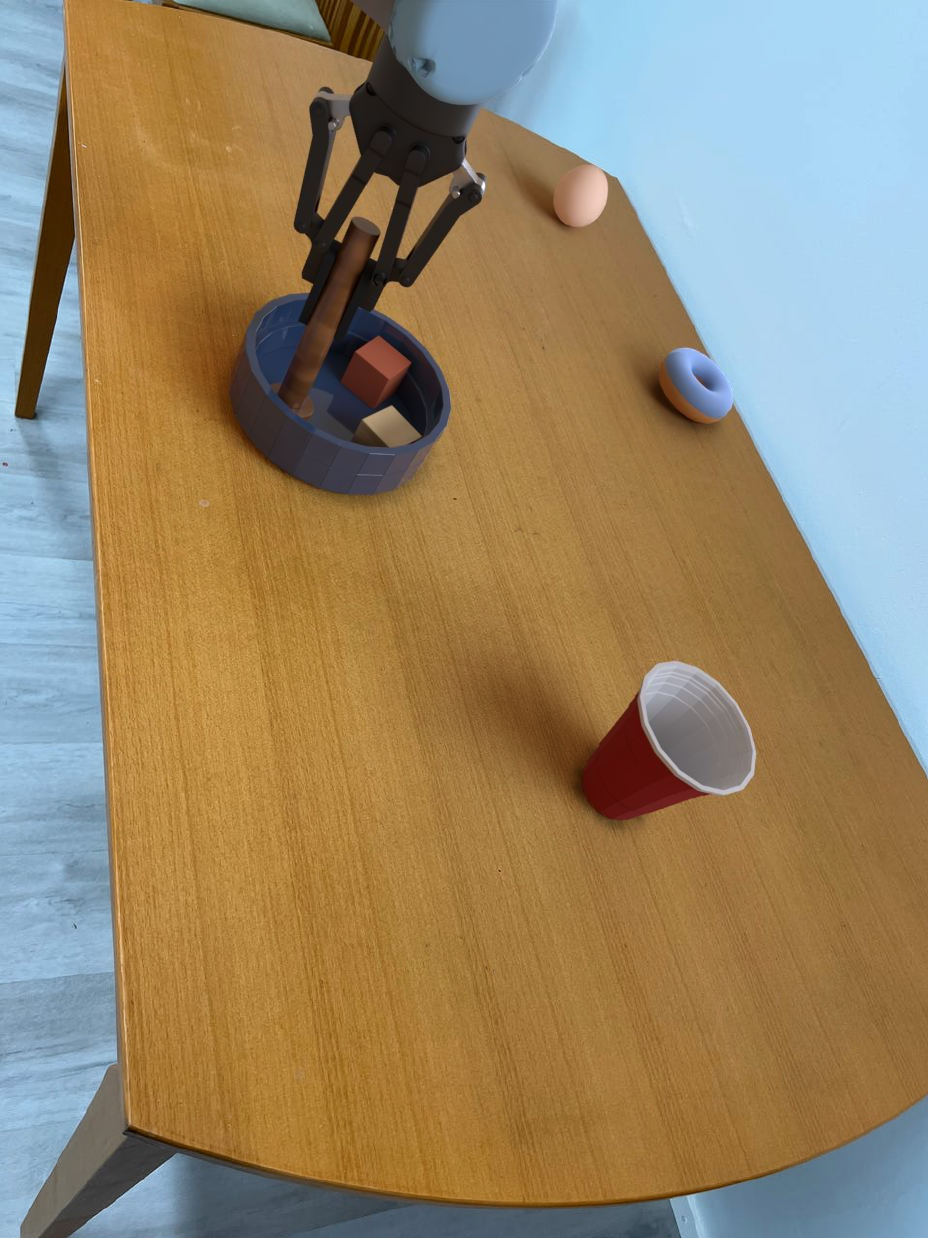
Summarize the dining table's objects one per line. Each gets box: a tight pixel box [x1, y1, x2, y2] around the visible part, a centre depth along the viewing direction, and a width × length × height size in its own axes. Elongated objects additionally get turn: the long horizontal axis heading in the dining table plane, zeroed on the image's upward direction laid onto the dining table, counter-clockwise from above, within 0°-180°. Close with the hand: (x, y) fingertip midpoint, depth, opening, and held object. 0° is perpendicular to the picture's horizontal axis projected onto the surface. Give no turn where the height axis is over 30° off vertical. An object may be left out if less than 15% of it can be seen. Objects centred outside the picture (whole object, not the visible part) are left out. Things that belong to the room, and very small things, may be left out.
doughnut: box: [657, 347, 734, 425], centre depth 115 cm, size 10×10×5 cm
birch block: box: [351, 405, 422, 448], centre depth 86 cm, size 4×4×4 cm
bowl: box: [228, 292, 452, 496], centre depth 86 cm, size 19×19×6 cm
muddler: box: [270, 215, 382, 422], centre depth 79 cm, size 4×4×18 cm
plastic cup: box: [581, 660, 757, 822], centre depth 75 cm, size 11×11×12 cm
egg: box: [552, 163, 609, 228], centre depth 124 cm, size 7×7×8 cm
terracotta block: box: [341, 335, 411, 409], centre depth 90 cm, size 4×4×4 cm
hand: (324, 322), depth 79 cm, fingers closed on muddler, 2 cm apart
